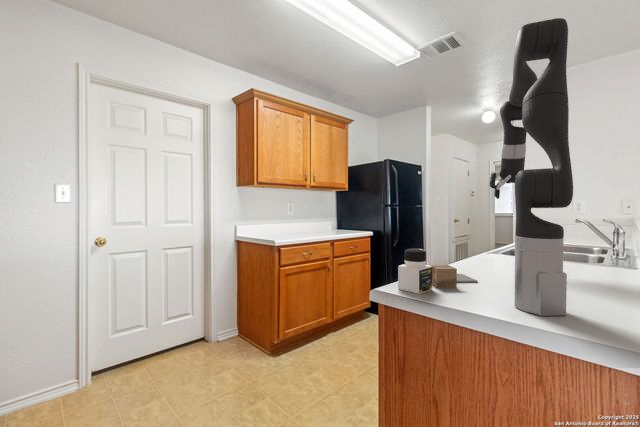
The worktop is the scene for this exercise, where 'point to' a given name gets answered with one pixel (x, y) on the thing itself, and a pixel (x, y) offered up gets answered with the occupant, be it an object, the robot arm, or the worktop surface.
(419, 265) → the medicine bottle
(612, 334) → the worktop surface
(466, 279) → the slate coaster
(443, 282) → the walnut block
